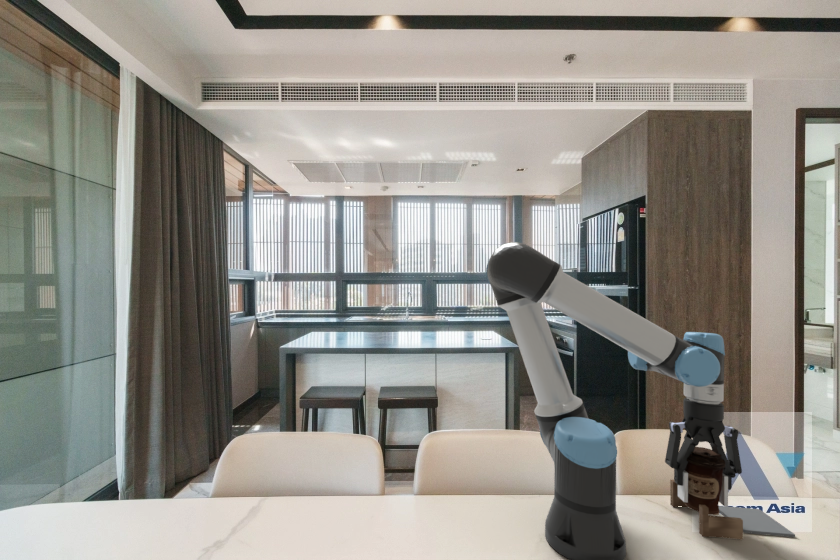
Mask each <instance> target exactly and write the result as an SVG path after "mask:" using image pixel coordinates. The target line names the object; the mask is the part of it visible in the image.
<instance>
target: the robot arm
mask: <svg viewBox="0 0 840 560" xmlns="http://www.w3.org/2000/svg"><path fill="white" fill-rule="evenodd" d="M485 275H486V279H487V282H488V284H489V285H490V286H491V289H492V293H493V295H494V297H495V301H496V304H497V306H498V308H500V309H503V310H504V311H505V312H506V314H507V317H508V319H509V323H510V326H511V329H512V332H513V334H514V337H515V342H516V343H517V346H518V349H519V352H520V355H521V357H522V361H523V364H524V367H525V370H526V372H527V375H528V377H529V381H530V384H531V386H532V390H533V393H534V397H535V399H536V402H537V403H536V406H535V408H534V410H533V412H534V415H535V419H536V421H537V424H538V427H539V434H540V437H541V440H542V442H543V444H544V446H545V448H546V449H547V451H548V453H549V455H550V458H551V460H552V461H553V463H554V475H553V476H554V477H553V479H554V485H553V486H554V487H553V488H554V489H553V490H554V491H553V492H554V495H553V499H552V501H551V502H552V503H551V505H550V508H549V510H548V512H547V515H546V519H545V523H544V528H545V529H544V535H545V536H544V537H545V539H546V541H547V543H548V544H549V545H550V546H551V548H552V549H553V550H555V552H557V553H558V554H560V555H562V556H563V557H565V558H567V559H568V560H625V559H626V555H627V544H626V538H625V534H624V531H623V527H622V525H621V522H620V518H619V516H618V515H619V514H618V512H617V504H616V503H617V457H618V449H617V448H618V447H617V444H616V443H617V442H616V437H615V434H614V433H613V431H612V430H611V429H610V428H609V427H608V426H606V425H605V424H604V423H602V422H597V421H596V420H594V419H590V418H589V417H588V413H587V410H586V408H585V404H584V402H583V399H582V398H580V397H578V396H576V395H575V394H574V393H573V389H572V388H571V384H570V381H569V379H568V376H567V373H566V370H565V368H564V364H563V362H562V359H561V357H560V354H559V351H558V348H557V345H556V342H555V339H554V337H553V334H552V331H551V328H550V325H549V323H548V319H547V316H546V314H545V310H544V308H543V305H542V303H545V304H546V305H547V306H549V307H551V308H553V309H555V310H557V311H558V312H560V313H562V314H563V315H565V316H566V317H569V318H571V319H572V320H574V321H576V322H577V323H579V324H581V325H582V326H584V327H586V328H588V329H589V330H591V331H593V332H595V333H597V334H598V335H600V336H602V337H604V338H605V339H607V340H609V341H610V342H612V343H614V344H615V345H617V346H619V347H621V348H622V349H624V350H626V351H627V358H628V362H629V365H630V366H631V367H632V368H633V370H634V369H635V370H639V371H644V372H647V371H648V372H657V373H659V374H661V375H664V376H666V377H670V378H673V379H675V380H677V381H679V382H682V383H683V392H682V393H683V396H685V397H684V398H683V402H682V403H683V408H682V409H683V410H682V411H683V416H684V417H683V419H682V421H681V422H673V421H669V423H668V427H669V436H668V442H667V447H666V452H665V453H666V454H665V459H664V462H665V464H667V465H668V467H670V468H671V469H673V470H674V471H673V478H674V479H673V480H674V481H675V483H676V484H678V497H679V498H680V499H681V500H682V501H683V502H688V473H687V472H686V471H685V468H686V466H687V463H688V461H687V458H688V457H689V456H690V454H692V453H691V452H693V451H694V448H695V447H698V445H699V443H705V442H706V443H708V444H709V445H710V447H711V448H710V449H711V450H713V451H714V452H716V453H717V454H721V455H722V456H721V459H724V461H725V467H724V469H723V476H722V489H721V493H720V498H719V500H720V501H719V503H720V504H721V506H727V507H729V490H730V491H731V490H732V485H733V484H732V482H733V481H732V480H733V479H735V477H736V476H737V474H738V475H741V474H742V473H743V470H742V463H741V457H740V456H741V455H740V451H739V446H738V445H739V444H738V437H739V430H738V429H737V428H735V427H733V426H730V425H725V424H724V421H723V420H724V419H725V417H724V416H725V406H724V404H723V403H722V402H724V399H725V398H724V397H725V391H724V390H725V389H724V388H725V387H724V386H725V356H726V352H725V343H724V341H725V340H724V338H723V336H722V335H721V334H718V333H713V332H700V331H698V332H697V331H686V332H685V333H684V335H683V338H680V337H679V336H676V335H674V334H673V333H671V332H669V331H668V330H666V329H665V328H663V327H661V326H659V325H658V324H656V323H654V322H652V321H650V320H649V319H647V318H644V317H643V316H641V315H640V314H638V313H636V312H635V311H632V310H631V309H629V308H628V307H625V306H623V305H622V304H621V303H619V302H617V301H615V300H613V299H611V298H609V297H608V296H606V295H605V294H603V293H601V292H600V291H597V290H596V289H594V288H592V287H591V286H589V285H587V284H585V283H584V282H581V281H580V280H578V279H576V277H573V276H571V275H569V274H567V273H565V271H564V270H563V266H562V265H561V264H559V263H558V262H556V261H554V260H553V259H551V258H549V257H548V256H546V255H545V254H543V253H541V252H540V251H538V250H537V249H535V248H533V247H532V246H530V245H528V244H526V243H523V242H518V241H512V242H506V243H503V244H502V245H500V246H498V247H497V248H496V249H495V250H494V251H493V252H492V253H491V256H490V258H489V259H488V261H487V265H486V269H485ZM683 429H684V430H685V434H684V436H683V442H682V444H681V441H682V433H683V432H684V431H683ZM722 434H723V435H724V436H723V437H724V439H723V440H724V444H725V450H724V448H723V443H722V440H721V438H720V436H721V435H722ZM680 445H681V447H680ZM725 451H726V453H725ZM732 478H733V479H732Z"/></svg>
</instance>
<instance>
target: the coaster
mask: <svg viewBox="0 0 840 560" xmlns="http://www.w3.org/2000/svg"><path fill="white" fill-rule="evenodd" d="M718 506H719V514H721V516H723V517H735V518H741V519H742V520H743V534H754V535H755V534H756V535H763V536H765V535H767V536H775V537H776V536H777V537H787V538H796V534H795V533H794V532H792V531H791V530H790V529H788V528H786V527H785V526H784V525H782V524H781V523H779V522H778V521H777V520H775V519H774V518H773V517H771V516H769V515H768V513H766V512H764V511H762V510H761V508H749V507H737V506H724V505H718Z"/></svg>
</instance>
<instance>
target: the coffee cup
mask: <svg viewBox="0 0 840 560" xmlns="http://www.w3.org/2000/svg"><path fill="white" fill-rule="evenodd" d="M691 453H692V454H690V456H689V457H688V458H687V461H688V463H687V466H686V468H685V471H686V472H687V473H688V502H685V505H686V506H687V507H689V508H688V509H691V510H692V511H695V512H697V513H699V505H706V506H707V507H708V508H709V515H711V516H720V512H719V506H720V505H719V503H720V502H719V501H720V500H719V498H720V493H721V489H722V476H723V469H724V467H725V461H724V459H721V456H722V455H721V454H717V453H716V452H714V451H713V450H712V448H706V447H703V446H702V447H701V446H695V448H694V451H693V452H691Z"/></svg>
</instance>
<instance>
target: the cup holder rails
mask: <svg viewBox="0 0 840 560" xmlns="http://www.w3.org/2000/svg"><path fill="white" fill-rule="evenodd" d="M669 481H670V485H669V486H670V489H669V490H670V493H669V494H670V502H669V503H670V506H671V505H672V506H673V507H672V508H677V507H678V506H682V507H687V506H686V505H685V502H683V501H682V500H681V499H680V498H679V497H678V484H676V483H675V481H674V479H670V480H669ZM682 507H681V508H682ZM678 508H679V507H678ZM698 523H699V525H698V530H699V531H698V534H700V535H701V536H702V537H704V538H705V537H706V538H710V537H711V538H721V539H731V540H733V539H734V540H744V532H743V520H742V519H741V518H735V517H725V516H723V515H709V508H708V507H707V506H706V505H699V512H698Z"/></svg>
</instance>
